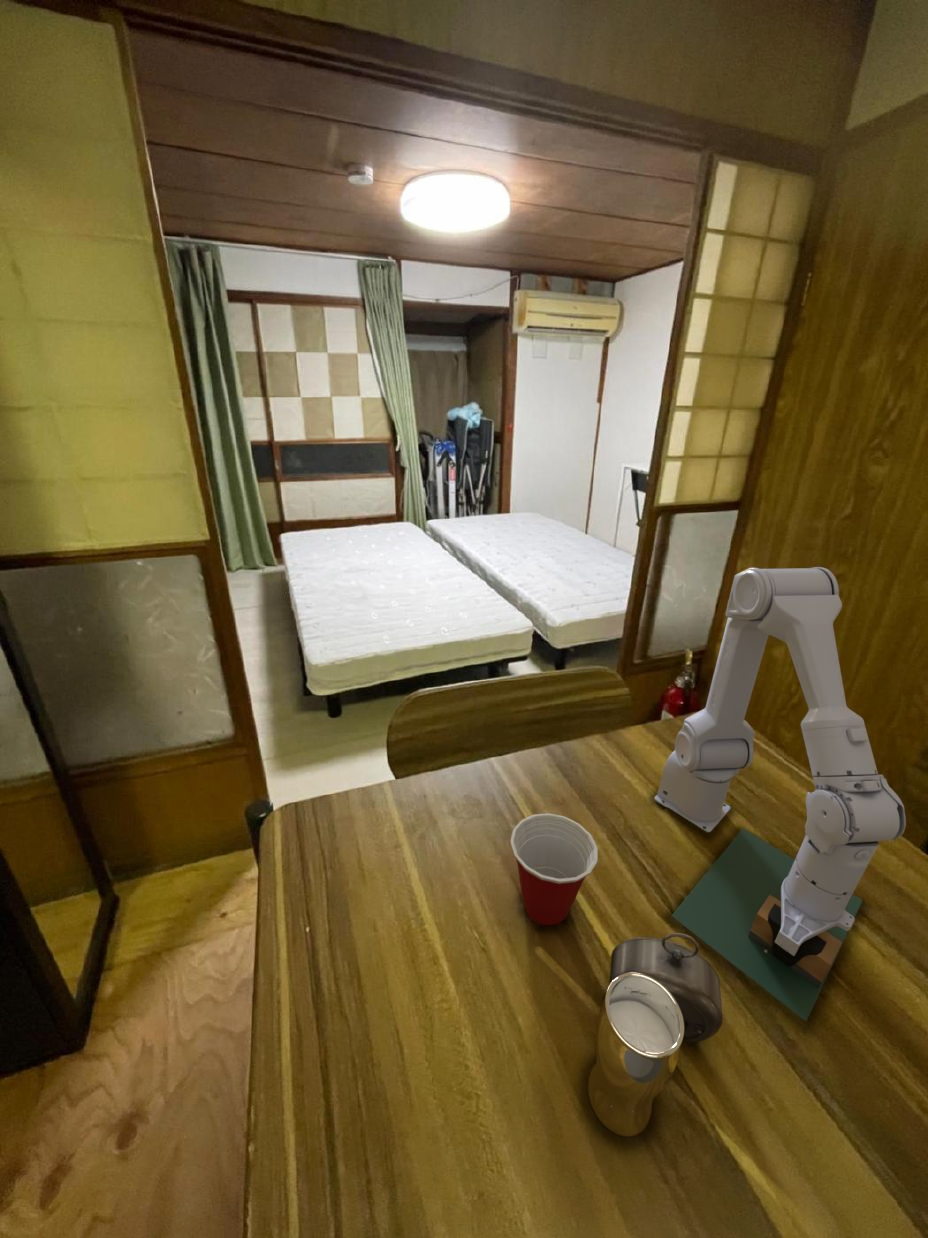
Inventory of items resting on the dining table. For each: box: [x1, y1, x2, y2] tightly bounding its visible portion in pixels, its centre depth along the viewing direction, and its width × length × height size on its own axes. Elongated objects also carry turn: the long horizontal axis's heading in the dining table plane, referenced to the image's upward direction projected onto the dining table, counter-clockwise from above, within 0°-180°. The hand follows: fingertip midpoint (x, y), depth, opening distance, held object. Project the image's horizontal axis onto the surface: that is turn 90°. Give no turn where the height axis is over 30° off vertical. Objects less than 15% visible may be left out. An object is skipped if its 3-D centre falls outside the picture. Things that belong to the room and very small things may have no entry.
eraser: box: [748, 895, 843, 988], centre depth 62 cm, size 8×4×4 cm, turn 41°
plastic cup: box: [510, 812, 599, 927], centre depth 66 cm, size 11×11×12 cm
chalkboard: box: [671, 827, 864, 1022], centre depth 69 cm, size 16×22×1 cm
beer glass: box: [587, 972, 684, 1137], centre depth 48 cm, size 7×7×15 cm
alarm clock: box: [608, 932, 724, 1043], centre depth 53 cm, size 11×5×16 cm, turn 71°
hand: (789, 946), depth 63 cm, fingers closed on eraser, 4 cm apart
